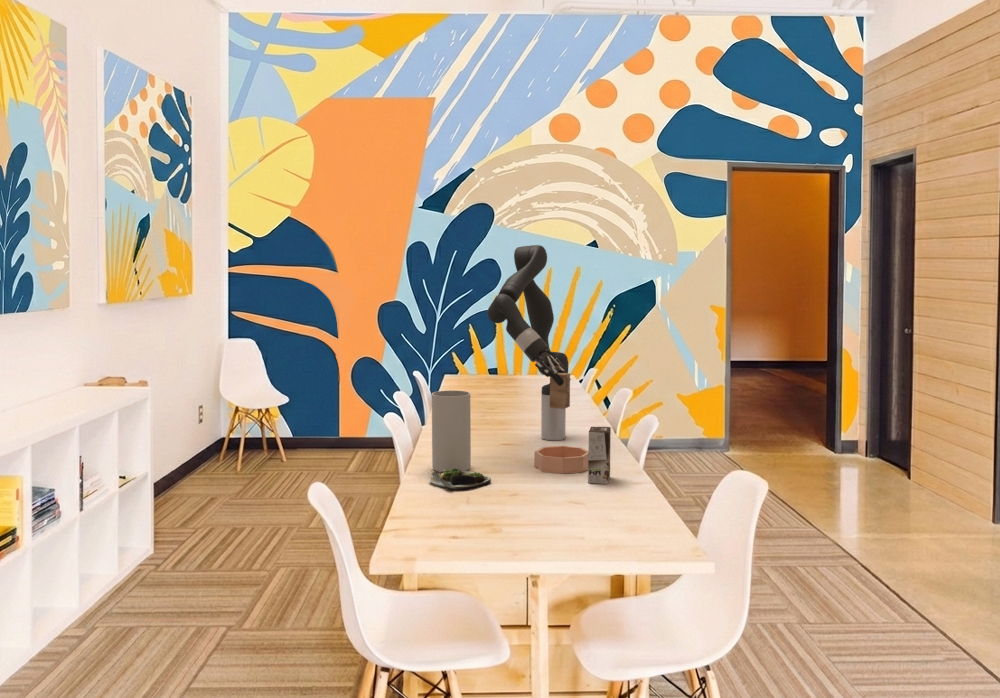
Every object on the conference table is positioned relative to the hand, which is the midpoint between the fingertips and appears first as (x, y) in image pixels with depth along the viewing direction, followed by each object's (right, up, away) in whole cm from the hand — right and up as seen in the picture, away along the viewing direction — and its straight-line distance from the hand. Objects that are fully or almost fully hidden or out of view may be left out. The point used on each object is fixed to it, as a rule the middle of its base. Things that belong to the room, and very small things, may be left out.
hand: (565, 382), depth 270 cm
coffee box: (+10, -30, -13) cm, 34 cm away
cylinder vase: (-37, -28, +1) cm, 47 cm away
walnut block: (-2, -8, +2) cm, 8 cm away
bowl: (-1, -28, +4) cm, 28 cm away
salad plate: (-33, -31, -16) cm, 48 cm away
